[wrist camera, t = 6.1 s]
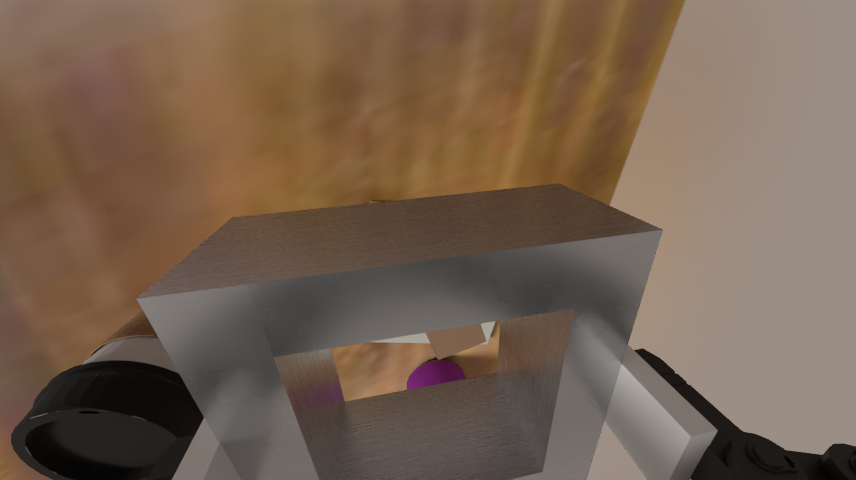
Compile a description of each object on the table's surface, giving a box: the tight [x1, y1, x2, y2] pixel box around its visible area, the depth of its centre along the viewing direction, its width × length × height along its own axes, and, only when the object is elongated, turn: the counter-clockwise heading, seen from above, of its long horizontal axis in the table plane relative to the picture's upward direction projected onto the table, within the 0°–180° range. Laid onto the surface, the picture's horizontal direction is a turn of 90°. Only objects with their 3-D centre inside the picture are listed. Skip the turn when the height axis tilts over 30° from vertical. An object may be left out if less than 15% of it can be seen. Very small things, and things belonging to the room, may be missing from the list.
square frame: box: [137, 184, 663, 480], centre depth 11 cm, size 12×12×4 cm
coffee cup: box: [11, 311, 204, 480], centre depth 22 cm, size 8×8×15 cm
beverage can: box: [407, 360, 466, 390], centre depth 35 cm, size 8×8×12 cm
